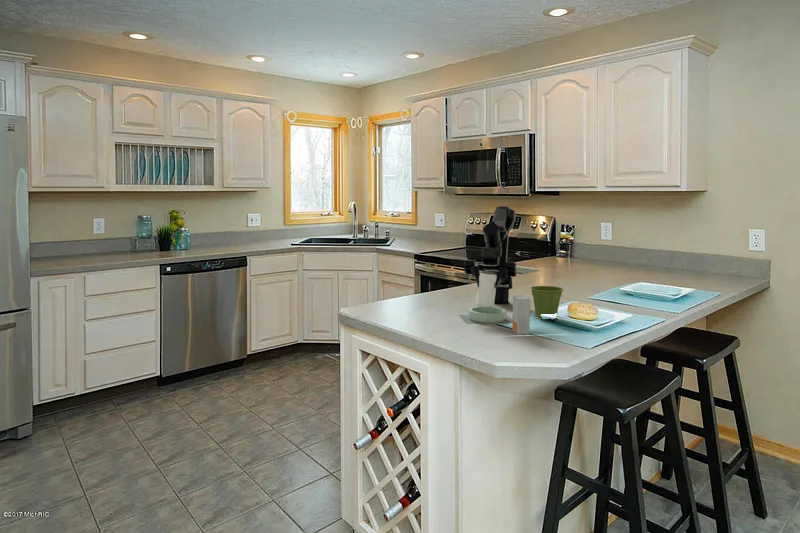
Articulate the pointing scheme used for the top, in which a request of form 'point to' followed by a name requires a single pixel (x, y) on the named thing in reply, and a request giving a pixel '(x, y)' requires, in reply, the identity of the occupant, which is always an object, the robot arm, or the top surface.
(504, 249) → the robot arm
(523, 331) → the skincare box
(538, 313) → the plant pot
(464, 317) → the slate mat
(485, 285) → the can
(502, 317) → the bowl
